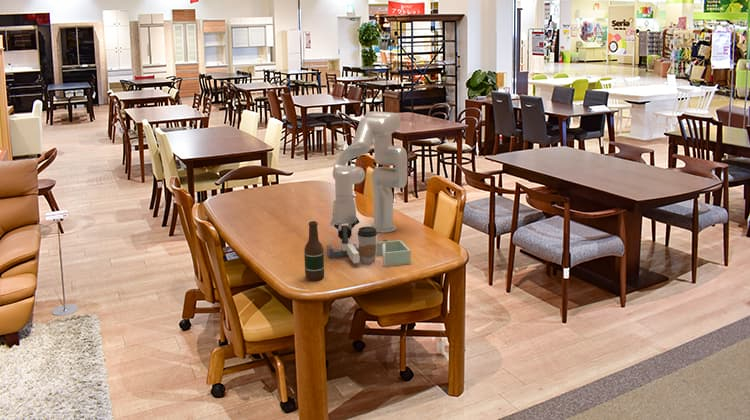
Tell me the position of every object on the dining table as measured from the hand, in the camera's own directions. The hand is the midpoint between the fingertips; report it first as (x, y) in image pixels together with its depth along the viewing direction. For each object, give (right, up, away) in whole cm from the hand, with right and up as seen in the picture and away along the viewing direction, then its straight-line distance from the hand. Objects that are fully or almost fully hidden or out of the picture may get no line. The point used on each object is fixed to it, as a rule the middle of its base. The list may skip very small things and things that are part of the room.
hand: (344, 237), depth 309 cm
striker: (+3, -8, -4) cm, 9 cm away
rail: (+6, -8, +4) cm, 11 cm away
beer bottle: (-11, -16, -22) cm, 30 cm away
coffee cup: (+10, -11, -5) cm, 15 cm away
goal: (+21, -10, -2) cm, 23 cm away
